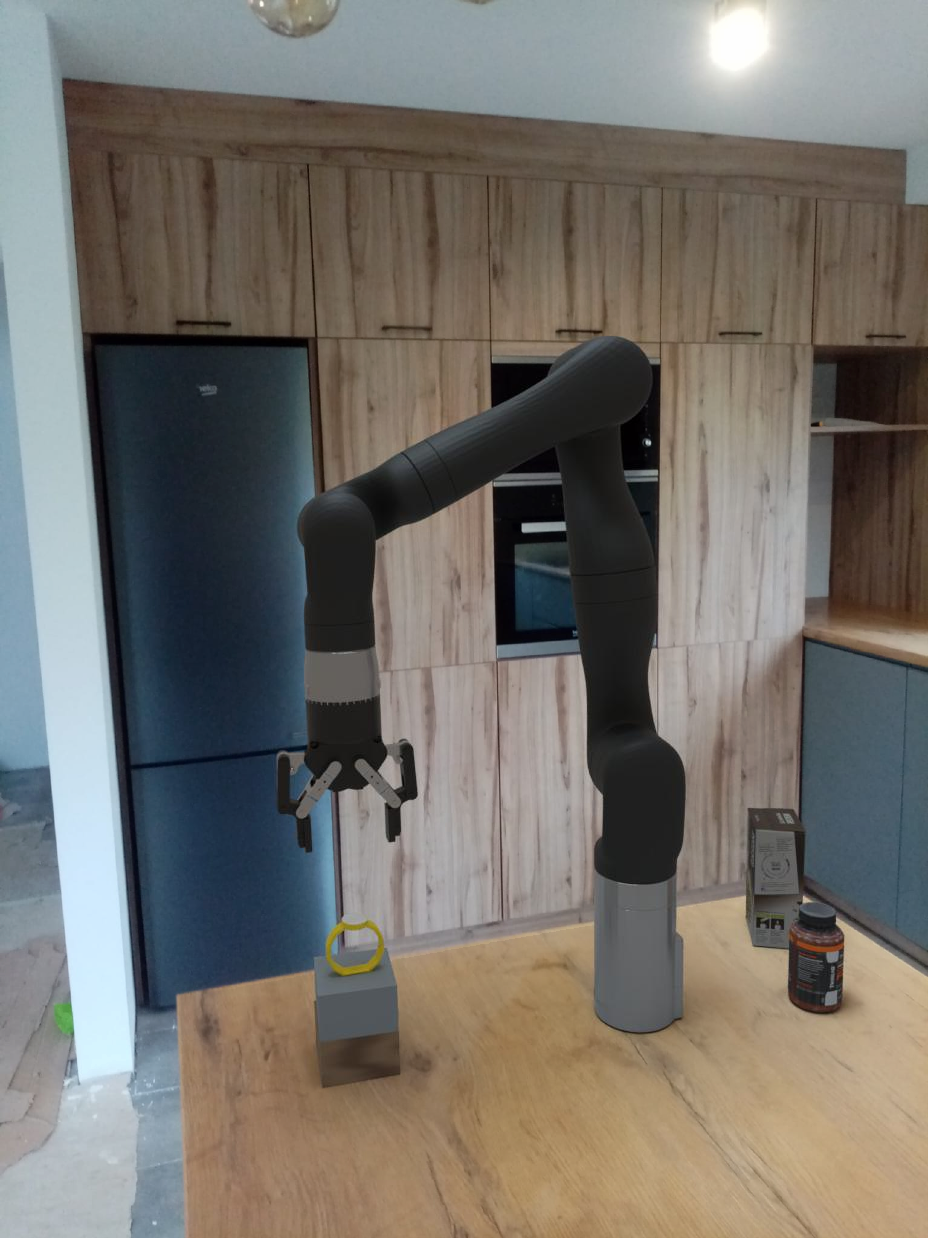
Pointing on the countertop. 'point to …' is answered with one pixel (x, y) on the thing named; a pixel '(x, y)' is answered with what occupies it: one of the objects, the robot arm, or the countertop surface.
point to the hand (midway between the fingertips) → (349, 845)
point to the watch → (354, 923)
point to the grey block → (355, 997)
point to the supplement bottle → (816, 959)
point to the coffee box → (773, 874)
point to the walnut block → (357, 1058)
